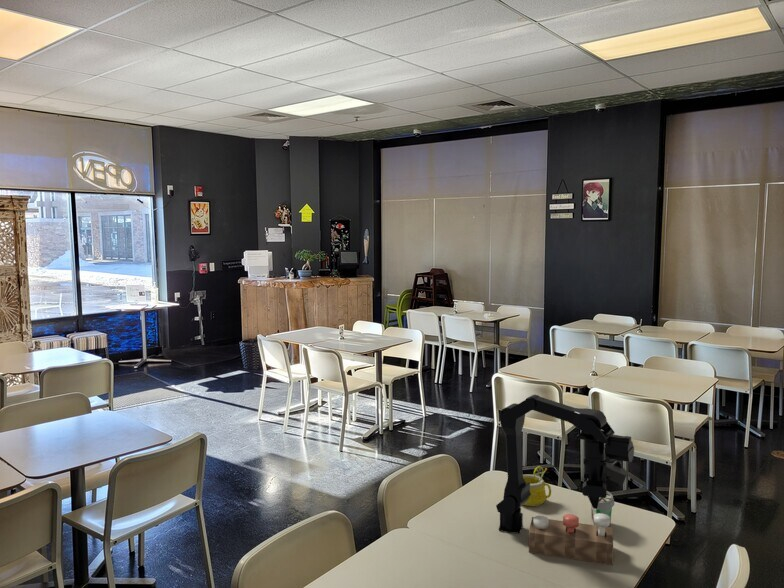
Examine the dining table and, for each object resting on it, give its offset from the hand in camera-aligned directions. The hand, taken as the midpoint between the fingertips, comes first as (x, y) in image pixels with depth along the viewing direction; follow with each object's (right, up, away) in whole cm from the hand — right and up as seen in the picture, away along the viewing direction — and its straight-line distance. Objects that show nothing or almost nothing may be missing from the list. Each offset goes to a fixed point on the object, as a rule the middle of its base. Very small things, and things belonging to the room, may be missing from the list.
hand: (595, 508), depth 168 cm
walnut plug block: (-6, -14, +4) cm, 15 cm away
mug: (-9, -11, +35) cm, 38 cm away
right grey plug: (+2, -10, +1) cm, 10 cm away
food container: (+9, -12, +18) cm, 23 cm away
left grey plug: (-14, -13, +6) cm, 20 cm away
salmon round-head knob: (-6, -12, +4) cm, 13 cm away
